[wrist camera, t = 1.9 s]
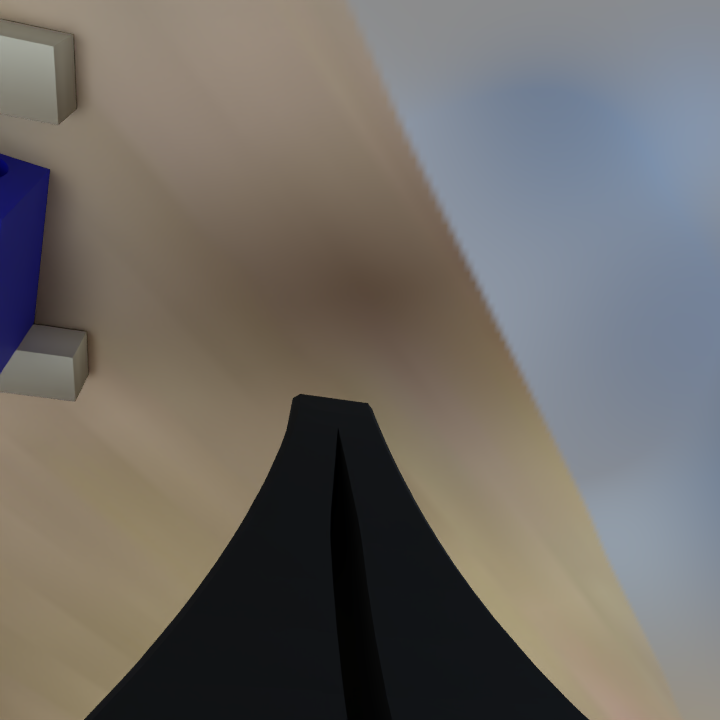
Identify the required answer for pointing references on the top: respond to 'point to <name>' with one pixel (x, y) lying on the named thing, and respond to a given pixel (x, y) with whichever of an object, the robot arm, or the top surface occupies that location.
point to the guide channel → (53, 105)
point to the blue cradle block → (19, 248)
